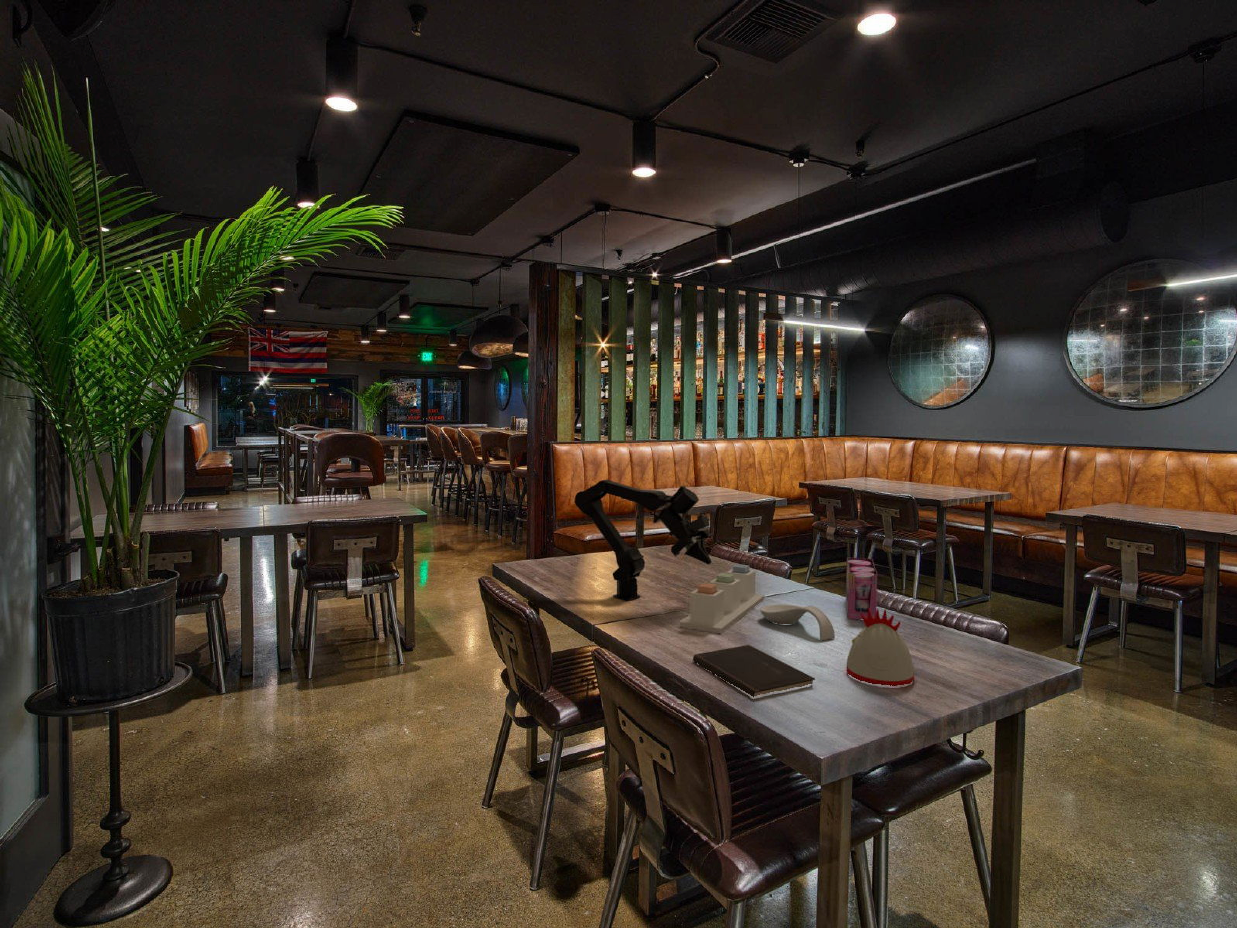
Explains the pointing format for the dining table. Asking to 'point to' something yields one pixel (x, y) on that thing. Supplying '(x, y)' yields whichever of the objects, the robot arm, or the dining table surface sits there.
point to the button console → (722, 604)
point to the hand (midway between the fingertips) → (710, 563)
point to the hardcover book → (752, 670)
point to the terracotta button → (707, 588)
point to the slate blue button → (741, 568)
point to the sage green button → (725, 578)
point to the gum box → (861, 588)
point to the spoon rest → (798, 617)
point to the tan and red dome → (880, 653)
